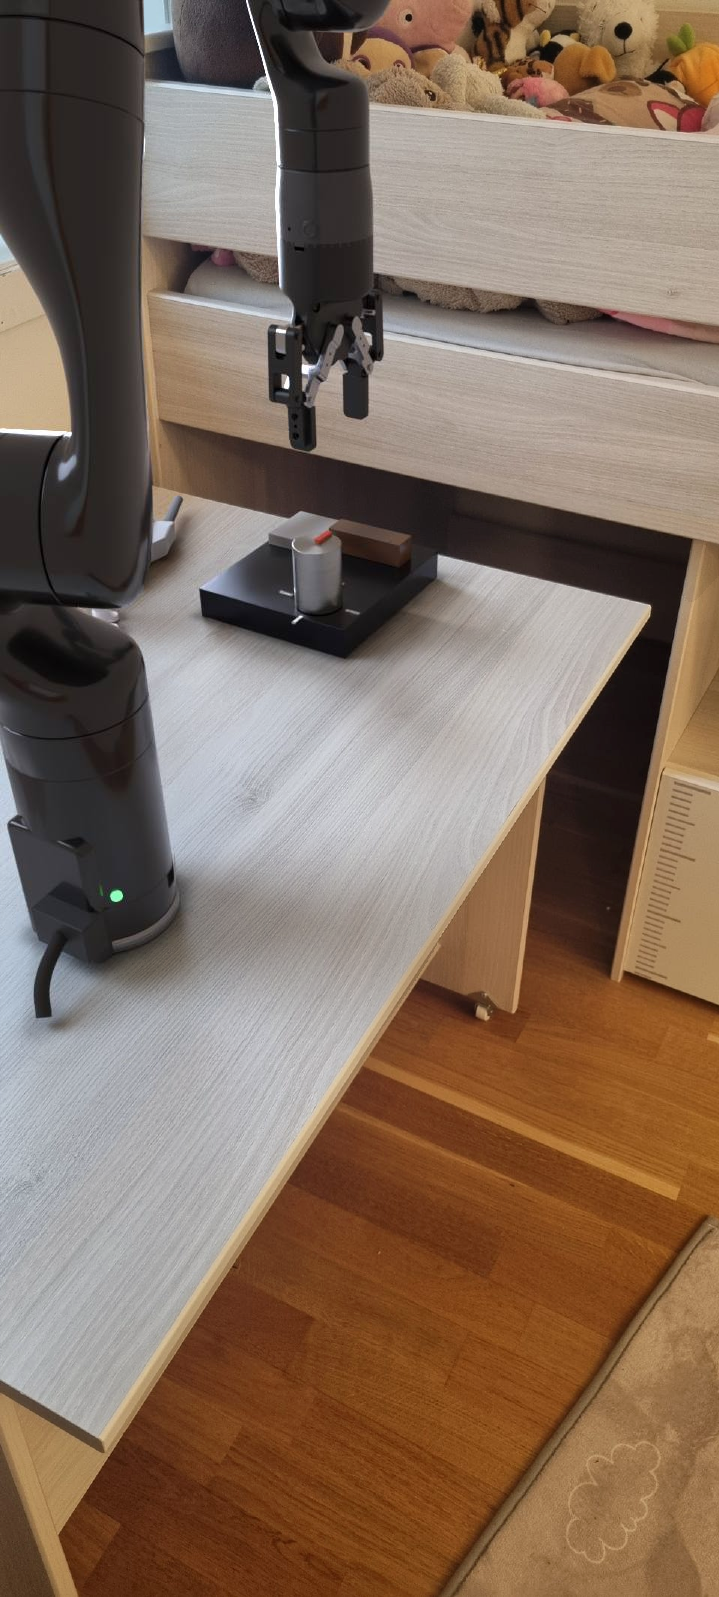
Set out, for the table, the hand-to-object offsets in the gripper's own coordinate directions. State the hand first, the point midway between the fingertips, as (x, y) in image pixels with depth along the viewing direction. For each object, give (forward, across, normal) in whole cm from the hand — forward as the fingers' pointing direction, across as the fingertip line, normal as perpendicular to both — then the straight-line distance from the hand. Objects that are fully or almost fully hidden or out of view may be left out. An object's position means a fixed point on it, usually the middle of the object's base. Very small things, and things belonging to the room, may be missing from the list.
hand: (330, 432), depth 103 cm
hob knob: (+15, +3, 0) cm, 15 cm away
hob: (+18, -3, -3) cm, 19 cm away
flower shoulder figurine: (+18, +12, -18) cm, 29 cm away
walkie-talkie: (+18, -2, -26) cm, 32 cm away
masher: (+15, -8, -3) cm, 17 cm away
